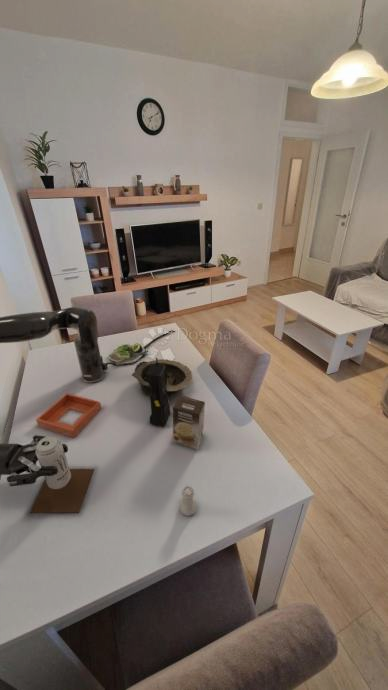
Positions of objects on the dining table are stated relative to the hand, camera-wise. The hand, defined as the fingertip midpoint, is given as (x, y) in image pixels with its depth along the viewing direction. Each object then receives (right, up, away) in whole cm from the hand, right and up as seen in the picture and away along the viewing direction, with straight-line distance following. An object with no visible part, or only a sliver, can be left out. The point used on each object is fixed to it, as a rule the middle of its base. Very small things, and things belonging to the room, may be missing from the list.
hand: (62, 459), depth 72 cm
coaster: (-3, -11, +7) cm, 13 cm away
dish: (-12, +3, +31) cm, 33 cm away
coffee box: (+32, -3, +23) cm, 40 cm away
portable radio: (+22, +2, +31) cm, 38 cm away
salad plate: (+1, +24, +70) cm, 74 cm away
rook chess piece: (+33, -14, +3) cm, 36 cm away
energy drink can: (-3, -8, +4) cm, 10 cm away
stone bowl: (+21, +12, +48) cm, 54 cm away
